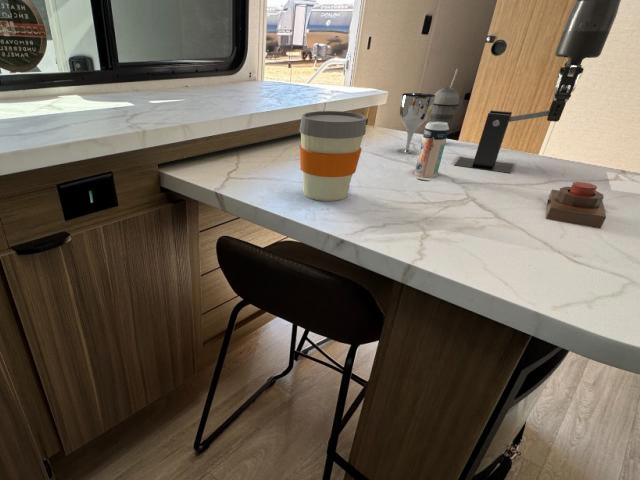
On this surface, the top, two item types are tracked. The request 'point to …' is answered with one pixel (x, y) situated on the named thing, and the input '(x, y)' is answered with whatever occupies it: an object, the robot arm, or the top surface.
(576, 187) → the button
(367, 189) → the top surface
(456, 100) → the beverage cup
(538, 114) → the lever
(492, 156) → the bracket
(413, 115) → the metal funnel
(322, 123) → the reusable coffee cup
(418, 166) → the supplement bottle
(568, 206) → the button box
